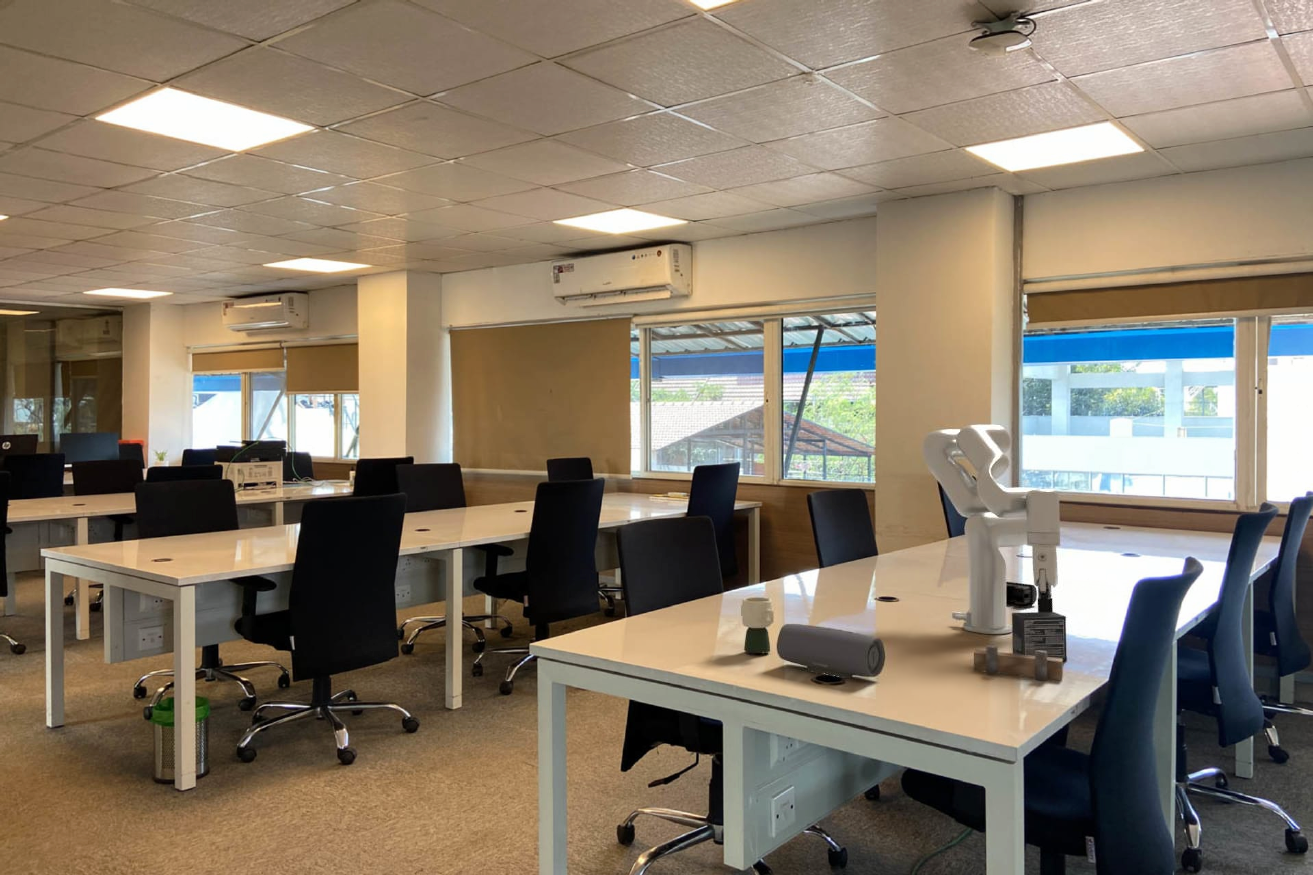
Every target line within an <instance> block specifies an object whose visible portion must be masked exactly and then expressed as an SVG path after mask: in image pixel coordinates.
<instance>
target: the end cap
mask: <svg viewBox="0 0 1313 875" xmlns="http://www.w3.org/2000/svg"><path fill="white" fill-rule="evenodd" d="M1036 587H1037V586H1035V585H1034V584H1028V583H1019V582H1012V581H1006V607H1011V606H1014V607H1013V608H1018V607H1019V608H1020V609H1028V608H1031V607H1032V606H1033V605H1034V604H1035V603H1036V601H1037V599H1038V596H1037V595H1038V589H1037V588H1036Z"/></svg>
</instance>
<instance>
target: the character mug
mask: <svg viewBox="0 0 1313 875" xmlns="http://www.w3.org/2000/svg"><path fill="white" fill-rule="evenodd" d="M740 615H741V617H742V625H743V626H744V627H747V629H746V632H745V639H744V647H743V649H744V652H745V653H750V654H760V655H763V654H762V653H770V652H771V643H770V642H771V641H770V635H769V630H768V629H767V628H768V627H770V626H771V625H772V624H774V621H775V620H774V619H775V614H774V610H773V601H772V598H769V597H763V596H760V597H759V596H749V597H743V598H742V602H741V605H740Z"/></svg>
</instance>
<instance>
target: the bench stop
mask: <svg viewBox="0 0 1313 875" xmlns="http://www.w3.org/2000/svg"><path fill="white" fill-rule="evenodd" d="M998 649H999V647H998V646H997V645H986V646H985V650H980V649H975V650H974V651H973V671H975V672H982V671H985V672H986V673H987V674H986V673H985V672H984V673H985V674H986V675H988V674H989V676H998V675H999V674H1000V673H1004V674H1003V675H1009V674H1010V675H1012V676H1018V675H1022V676H1021V677H1027V676H1028V677H1029V678H1034V679H1035V680H1036V681H1040V682H1047V681H1048V680H1056V681H1063V678H1064V674H1063V673H1064V661H1063V659H1061V658H1052V657H1047V651H1042V650H1036V651H1035V656H1032V655H1022V654H1013V652H1011V653H1010V652H1002V651H1001V652H1000V651H999V650H998ZM1028 677H1027V678H1028Z"/></svg>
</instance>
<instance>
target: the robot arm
mask: <svg viewBox="0 0 1313 875" xmlns="http://www.w3.org/2000/svg"><path fill="white" fill-rule="evenodd" d="M1010 446H1011V437H1010V434H1009V432H1008V431H1007V429H1005V428H1004V427H1003V426H1001V425H998V424H970V425H965V426H964V427H962V428H961V429H958V428H957V429H953V428H952V429H950V428H949V429H945V428H944V429H938V430H933V431H931V432H930V433H929V432H928V434H926V436H925V437H924V439H923V441H922V456H923V460H924V462H925V466H926V467H927V469H928V470H929V472H930V473H931V474H932V476H934V477H935V479H936V480H937V481H938V483H939V484H940V486H941V487H942V489H943V491H944V492H945V494H946V496H947V498H948V499H949V501H950V502H951V504H952V506H953V507H954V508H955V510H956V511H957V513H958V514H959V515H960V516H961V517H963V518H967V519H966V520H965V524H964V536H965V539H966V540H965V541H966V547H967V557H968V610H967V611H964V612H960V611H952V612H951V615H952V616H951V618H952V619H953V620H956V621H964V622H963V623H962V628H963V629H964V630H966V631H969V632H972V633H978V634H984V635H985V634H986V635H987V634H988V635H1004V634H1009V633H1012V624H1009V623H1007V606H1006V582H1007V563H1006V559H1005V558H1004V556H1003V554H1002V553H1001V550H1000V549H999V548H1009V547H1021V546H1024V545H1027V546H1030V547H1032V548H1031V552H1032V554H1031V555H1032V574H1033V585H1034V586H1035V587H1037V595H1038V596H1037V612H1054V608H1053V597H1052V588H1055V587H1056V586H1058V583H1059V580H1058V579H1059V578H1058V575H1059V574H1058V556H1057V547H1061V523H1060V522H1061V521H1060V520H1061V519H1060V517H1061V515H1060V494H1059V492H1058V491H1057V490H1055V489H1051V488H1037V487H1006V486H1005V485H1002V484H1000V483H998V482H997V481H996V480H997V479H998V478H1001V476H1003V475H1004V474H1005V473H1006V471H1007V470H1008V468H1009V465H1010V459H1009V458H1008V456H1007V455H1006V453H1008V450H1009V449H1010ZM956 459H957V460H959V459H966V460H967V461H968V462H969V463H970V464H971V466H972V467H973V469H974V470H975V471H976V472H977V477H976V479H975V478H974V477H973V475H972V474H971V472H970V471H969V470H968V469H967V468H966V466H964V465H963V464H962V463H960V462H958V461H956Z"/></svg>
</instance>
